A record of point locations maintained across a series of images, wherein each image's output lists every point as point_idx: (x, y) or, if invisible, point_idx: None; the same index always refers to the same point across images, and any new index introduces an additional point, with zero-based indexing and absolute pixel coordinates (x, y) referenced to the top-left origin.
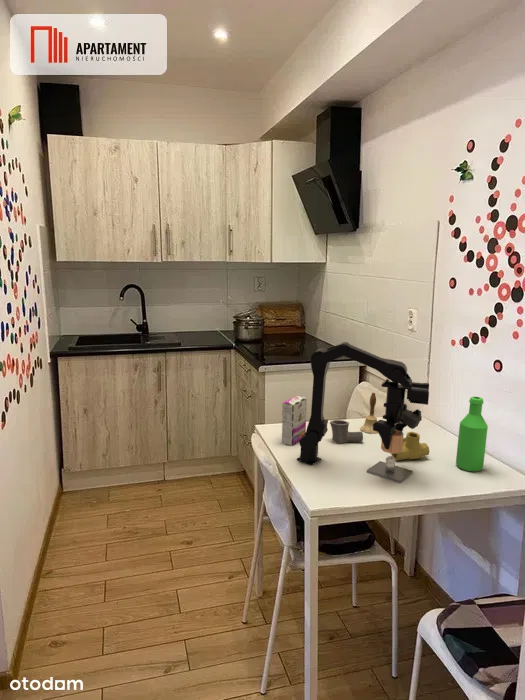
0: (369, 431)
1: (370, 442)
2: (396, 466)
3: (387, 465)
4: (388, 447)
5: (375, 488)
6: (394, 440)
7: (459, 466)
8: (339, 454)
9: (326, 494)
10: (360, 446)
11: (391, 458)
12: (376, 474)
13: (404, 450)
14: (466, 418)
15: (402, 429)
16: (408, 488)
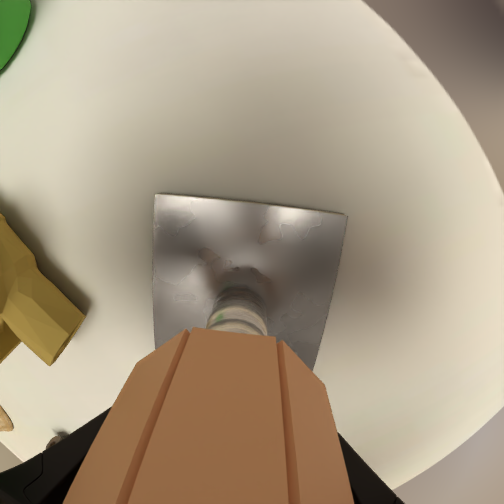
0: (2, 414)
1: (39, 411)
2: (161, 296)
3: None
4: (350, 446)
5: (444, 297)
6: (342, 493)
7: (13, 48)
8: None
9: (497, 383)
10: None
11: None
12: (316, 349)
13: (27, 306)
14: None
15: (10, 489)
16: (383, 158)
